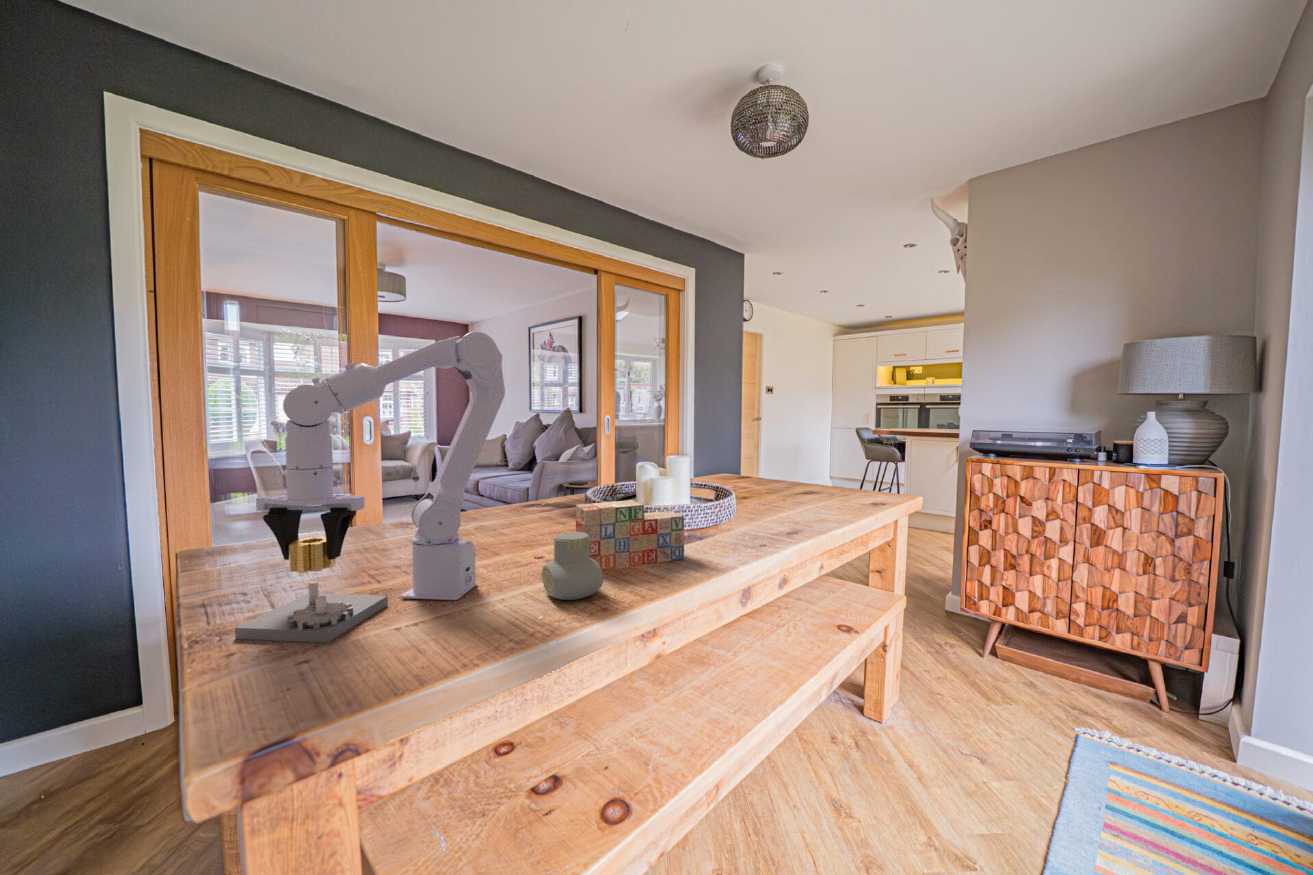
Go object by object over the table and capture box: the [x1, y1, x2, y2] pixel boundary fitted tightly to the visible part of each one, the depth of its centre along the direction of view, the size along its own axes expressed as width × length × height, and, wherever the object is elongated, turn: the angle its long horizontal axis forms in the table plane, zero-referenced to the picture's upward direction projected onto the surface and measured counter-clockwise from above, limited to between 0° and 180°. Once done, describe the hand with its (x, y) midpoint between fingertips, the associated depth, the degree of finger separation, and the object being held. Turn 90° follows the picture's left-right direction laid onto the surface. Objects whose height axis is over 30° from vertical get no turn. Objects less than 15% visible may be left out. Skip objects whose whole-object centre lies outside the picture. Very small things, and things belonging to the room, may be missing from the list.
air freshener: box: [541, 531, 604, 601], centre depth 85 cm, size 11×8×10 cm
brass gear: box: [288, 535, 336, 574], centre depth 76 cm, size 6×6×4 cm
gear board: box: [234, 581, 389, 644], centre depth 73 cm, size 13×13×4 cm
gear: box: [287, 601, 353, 631], centre depth 70 cm, size 8×8×1 cm
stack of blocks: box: [575, 499, 685, 571], centre depth 103 cm, size 21×6×12 cm, turn 114°
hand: (312, 557), depth 76 cm, fingers closed on brass gear, 6 cm apart
